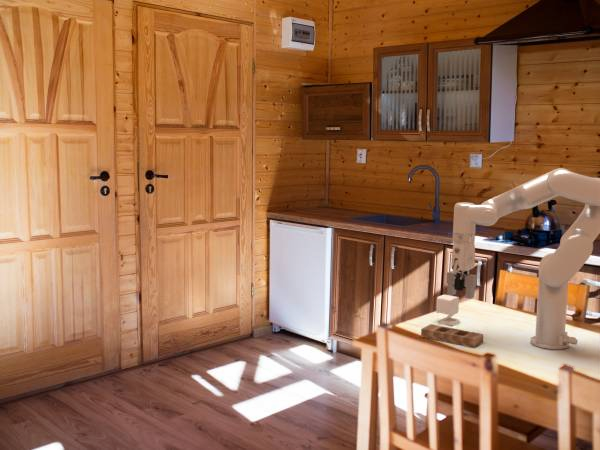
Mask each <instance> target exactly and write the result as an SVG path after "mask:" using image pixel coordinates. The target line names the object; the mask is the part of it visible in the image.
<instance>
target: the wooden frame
mask: <svg viewBox="0 0 600 450" xmlns="http://www.w3.org/2000/svg"><path fill="white" fill-rule="evenodd" d="M420 337H421V338H423V337H425V338H424V339H428V338H429V340H435V341H440V342H442V343H443V342H444V343H449V344H454V345H459V346H462V347H463V346H464V347H468V348H473V349H475V348H477V347H478V346H480V345H482V344H483V343H484V334H483V333H479V332H474V331H469V330H463V329H458V328H453V327H449V326H441V325H438V324H431V323H430V324H428V325H426V326H424V327H423V328H421V330H420Z"/></svg>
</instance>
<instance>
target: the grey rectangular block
mask: <svg viewBox="0 0 600 450" xmlns="http://www.w3.org/2000/svg"><path fill="white" fill-rule="evenodd" d="M452 271H453V270H452ZM452 271H451V270H450V271H448V272H446V280H445V281H446V282H445V283H446V285H447V289H446V295H450V296H456V294H457V290H455V289H454V283H455V279H454V274H453V273H452ZM458 273H460V272H458ZM477 276H478V275H476V274H470V273H469V274H465V273H463V279H464V285H463V286H464V287H466V289H465V295H464V296H465V299H469V300H471V299H474V298H475V291H476V290H475V289H476V287H477V281H478V280H477Z"/></svg>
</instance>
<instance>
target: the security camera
mask: <svg viewBox="0 0 600 450" xmlns="http://www.w3.org/2000/svg"><path fill="white" fill-rule="evenodd" d="M459 306H460V297H459V296H456V295H452V296H451V295H447V294H442V295H440V296H439V295H438V296H437V297H436V306H435V307H436V309H435V313H436V314H442V315H447V316H446V317H443V318H441V319H439V323H440V324H443V325H446V326H447V325H448V326H451V327H453V326H456V325H458V324H460V319H458V318H453V316H455V315H456V314H458V313H459V309H460V307H459Z"/></svg>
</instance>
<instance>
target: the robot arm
mask: <svg viewBox="0 0 600 450" xmlns="http://www.w3.org/2000/svg"><path fill="white" fill-rule="evenodd" d="M556 197H562V198H565V199H569V200H573V201H576V202H580V203H583V204H585V205H584V207H583V210H582V211H581V213H580V214H579V215H578V217H577V218H576V220H575V221H574V222H573V224H571V226H570V227H569V228H568V229H567V230H566V232H564V233H563V235H562V236H561V238H560V242H559V245H558V247H557V249H555V251H554V252H553V253H548V254H546V255H544V256H543V257H542V258H541V260H540V262H539V263H538V264H539V265H538V284H537V285H538V287H537V288H538V289H537V301H536V302H537V304H536V316H535V317H536V320H535V322H536V323H535V334H534V336H532V337H530V341H529V342H530V344H531V345H532V346H535V347H538V348H542V349H545V348H546V350H565V349H567V348H569V347H570V344H571V345H575V346H577V345H578V342H579V341H578V339H577V338H576V337H574V336H573V337H572V336H569V335H568V332H569V331H566V324H567V322H566V321H567V311H568V310H567V308H568V306H567V305H568V296H569V295H568V294H569V293H568V292H569V283H570V281H571V280H572V279H573V278H574V277H575V276H576V274H577V273H578V272H579V271H580V270H581V269H582V267H583V266H584V264H585V263H587V261H588V260H589V259H590V258H591V255H592V252H593V250H594V241H595V240H596V239H597V237H598V236H599V235H600V177H591V176H587V175H584V174H580V173H577V172H573V171H570V170H569V169H566V168H562V167H559V168H556V169H553V170H550V171H549V172H545V174H541V175H540V176H538V177H535V178H533V179H531V180H529V181H527V182H524V183H523V184H520V185H517V186H516V187H514V188H512V189H510V190H508V191H505V192H503V193H500V194H499V195H497V196H496V195H495V196H493V197H492V198H490V199H487V200H485V201H483V202H482V203H480V204H475V203H473V202H466V201H463V202H456V203H455V204H454V208H453V224H452V225H453V226H452V242H453V243H452V244H453V245H452V252H451V260H450V261H451V262H450V265H451V267H450V268H451V269H452V273H453V274H454V279H455V283H454V289H455V290H456V291H461V292H462V291H464V290H466V287H464V286H463V285H464V279H463V273H465V274H470V271H471V270H473V269H475V267H476V266H475V264H476V246H475V240H476V225H479V226H483V227H485V226H486V227H490V226H493V225H495V224H496V223H497V222H498V220H499V219H501V218H502V217H504V216H507V215H509V214H511V213H513V212H517V211H521V210H528V209H531V208H535V207H536V206H539V205H541V204H542V203H545V202H547V201H550V200H551V199H554V198H556ZM458 272H459V273H458Z"/></svg>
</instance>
